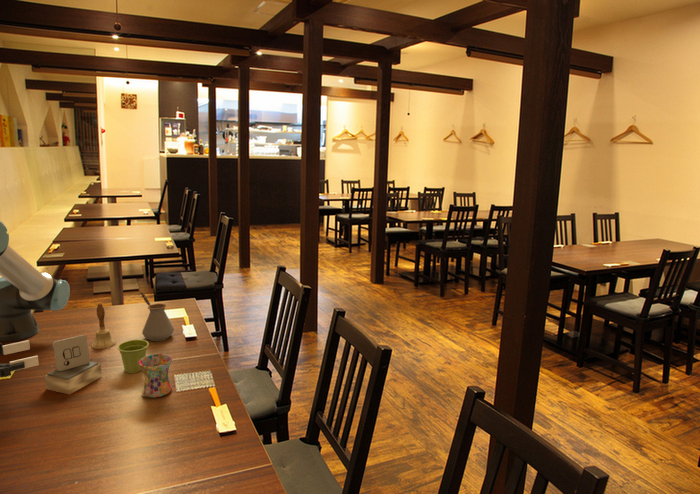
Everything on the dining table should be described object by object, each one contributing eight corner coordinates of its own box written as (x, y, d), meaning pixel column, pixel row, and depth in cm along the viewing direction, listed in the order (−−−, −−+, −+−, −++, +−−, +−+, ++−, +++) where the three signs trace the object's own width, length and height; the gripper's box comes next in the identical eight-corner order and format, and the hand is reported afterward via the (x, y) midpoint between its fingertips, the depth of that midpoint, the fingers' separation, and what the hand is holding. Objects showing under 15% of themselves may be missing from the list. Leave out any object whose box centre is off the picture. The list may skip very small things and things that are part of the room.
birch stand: (79, 372, 153) (78, 357, 152) (101, 376, 151) (100, 362, 150) (46, 389, 142) (44, 373, 141) (69, 394, 140) (67, 379, 139)
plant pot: (152, 362, 162) (150, 338, 160) (147, 374, 153) (146, 350, 151) (122, 364, 160) (121, 340, 158) (116, 377, 151) (114, 352, 149)
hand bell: (100, 350, 170) (96, 309, 166) (86, 345, 174) (82, 304, 170) (120, 343, 177) (118, 303, 173) (107, 338, 181) (104, 298, 177)
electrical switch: (57, 373, 142) (54, 343, 141) (53, 368, 146) (49, 340, 144) (91, 363, 149) (88, 335, 148) (85, 360, 152) (82, 332, 151)
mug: (177, 394, 142) (175, 362, 139) (144, 403, 136) (142, 370, 134) (166, 378, 151) (164, 348, 149) (135, 386, 146) (133, 354, 143)
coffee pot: (179, 338, 183) (177, 301, 180) (149, 346, 175) (147, 307, 172) (156, 322, 198) (154, 288, 195) (128, 329, 190) (126, 294, 187)
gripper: (-62, 369, 133) (27, 349, 147) (-58, 406, 115) (43, 379, 129) (-66, 345, 132) (24, 327, 146) (-62, 378, 114) (40, 354, 128)
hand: (33, 352), depth 138 cm, fingers open, 13 cm apart
